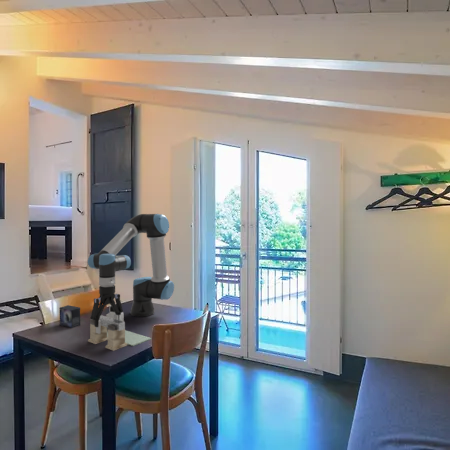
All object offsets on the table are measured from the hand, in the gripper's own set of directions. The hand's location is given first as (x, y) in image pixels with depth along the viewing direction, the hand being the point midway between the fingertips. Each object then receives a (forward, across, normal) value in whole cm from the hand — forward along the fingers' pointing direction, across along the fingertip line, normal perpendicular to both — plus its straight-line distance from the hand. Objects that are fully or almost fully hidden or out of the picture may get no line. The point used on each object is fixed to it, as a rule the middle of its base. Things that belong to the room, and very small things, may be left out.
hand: (107, 330), depth 174 cm
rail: (-2, 0, 0) cm, 2 cm away
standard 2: (+7, 0, -7) cm, 10 cm away
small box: (+7, +5, +41) cm, 42 cm away
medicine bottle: (+7, +20, +20) cm, 29 cm away
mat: (+7, +11, 0) cm, 13 cm away
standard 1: (+7, 0, +7) cm, 10 cm away
